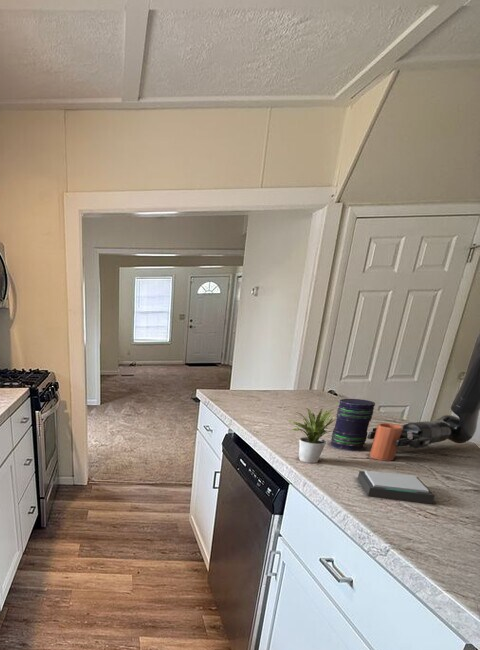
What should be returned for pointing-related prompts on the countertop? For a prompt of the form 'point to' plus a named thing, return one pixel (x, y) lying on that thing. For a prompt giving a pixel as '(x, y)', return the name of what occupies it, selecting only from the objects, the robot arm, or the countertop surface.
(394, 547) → the countertop surface
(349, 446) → the storage jar
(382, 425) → the cup
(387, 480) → the scale
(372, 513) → the countertop surface
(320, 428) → the house plant
